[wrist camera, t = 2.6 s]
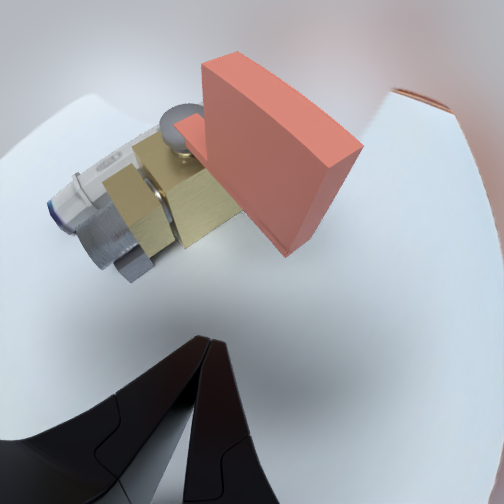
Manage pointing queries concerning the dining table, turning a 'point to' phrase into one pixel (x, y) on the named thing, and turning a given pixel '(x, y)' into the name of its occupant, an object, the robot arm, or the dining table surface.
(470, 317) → the dining table surface
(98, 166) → the white flashlight
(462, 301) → the dining table surface
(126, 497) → the robot arm
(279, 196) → the lever
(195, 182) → the valve
